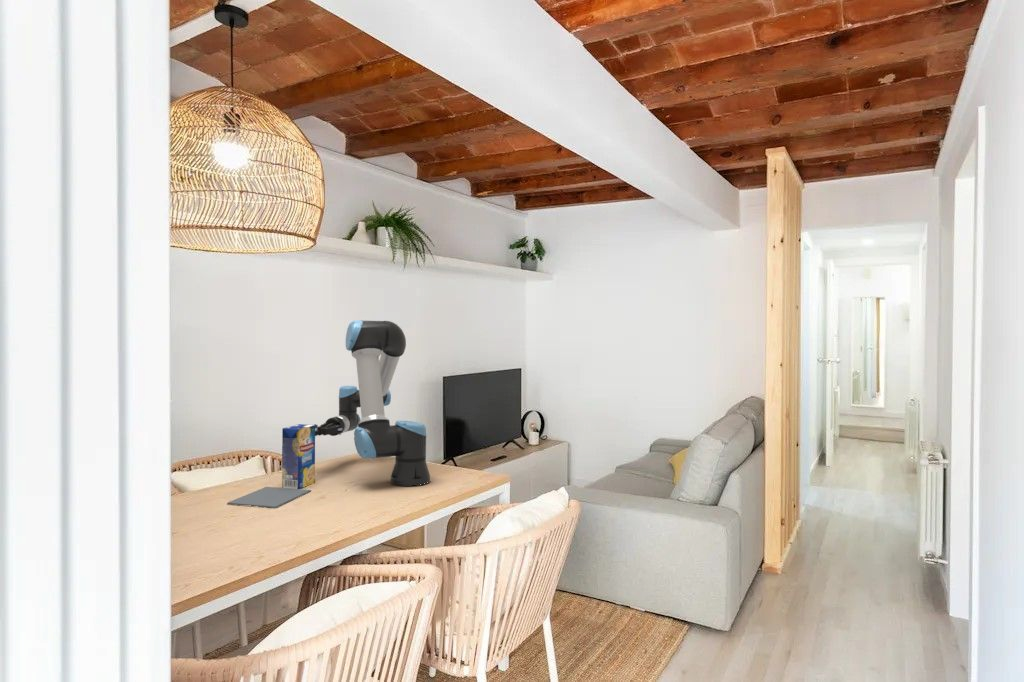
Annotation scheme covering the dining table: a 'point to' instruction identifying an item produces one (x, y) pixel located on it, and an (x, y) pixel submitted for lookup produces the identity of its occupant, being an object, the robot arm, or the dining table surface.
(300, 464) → the blue cracker box
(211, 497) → the dining table surface
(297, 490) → the mat
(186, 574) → the dining table surface
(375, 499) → the dining table surface
